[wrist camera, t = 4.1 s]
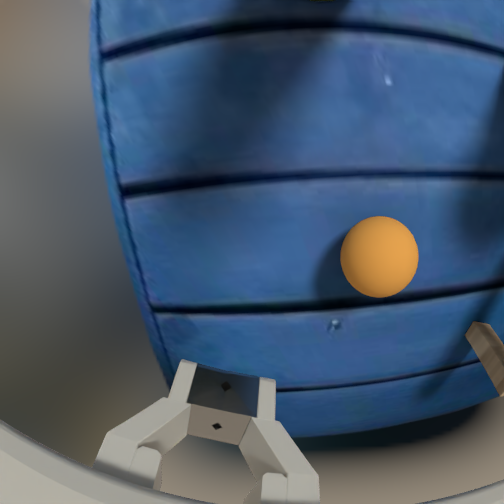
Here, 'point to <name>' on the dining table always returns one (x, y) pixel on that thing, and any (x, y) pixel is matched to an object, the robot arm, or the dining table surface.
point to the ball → (379, 256)
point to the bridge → (488, 352)
